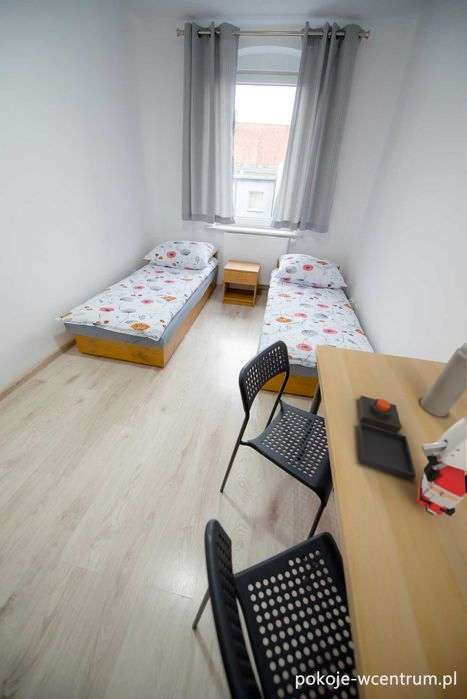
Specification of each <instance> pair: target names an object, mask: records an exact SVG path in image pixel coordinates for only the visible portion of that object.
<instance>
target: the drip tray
mask: <svg viewBox="0 0 467 699" xmlns="http://www.w3.org/2000/svg"><path fill="white" fill-rule="evenodd" d="M356 433H357V447H358V450H357V451H358V462H359V464H360V465H362V466H363V465H364V466H367V467H368V468H372V469H376V470H379V471H381V472H385V473H388V474H391V475H393V476H395V477H396V476H397V477H399V478H403V479H405V480H409V481H413V480H414V479H415V478H416V476H417V474H416V470H415V467H414V466H415V465H414V463H413V458H412V455H411V454H412V453H411V450H410V445H409V442H408V438H407V436H406V435H403V434H400V433H398V434H397V433H394V432H390V431H387V430H384V429H380V428H377V427H374V426H371V425H367V424H364V423H361V422H358V424H357V426H356Z"/></svg>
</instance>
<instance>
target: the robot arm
mask: <svg viewBox="0 0 467 699" xmlns="http://www.w3.org/2000/svg"><path fill="white" fill-rule="evenodd" d="M421 449H422V452H423V454H424V455H425V458H426V459H427V461H428V463H427V464H426V465H425V466H424V467H423V475H424V474H425V475H426V478H427V481H428V482H432V481H433V480H434V479H435V478H436V477H437V476H438V474H439V473H440V470H439V469H441V468H444V467H446V466H452V467H455V468H458V469H462V470H464V472H465V471H466V472H467V416H464V417H463V418H461V419H459V420H457V421H456V422H455V423H454V424H453V425H452V426H450V427H449V428H447V430H446V431H445V432H444V433H443V434H442V435H441V436H440V437H439V438H438V440H437V441H436V442H434V443H426V444H422V445H421ZM438 459H440V460H441V461H440V462H438V461H439V460H438ZM465 491H466V492H465V494H467V473H466V474H465Z"/></svg>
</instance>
